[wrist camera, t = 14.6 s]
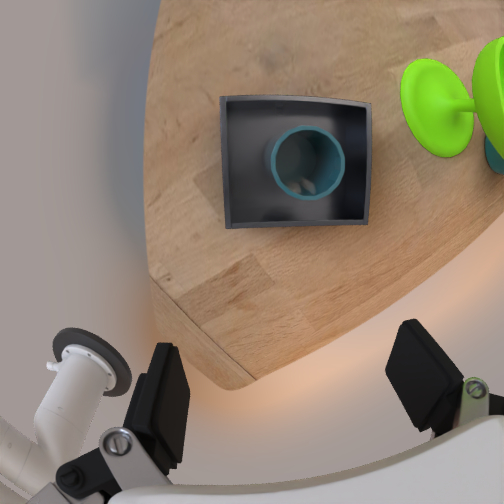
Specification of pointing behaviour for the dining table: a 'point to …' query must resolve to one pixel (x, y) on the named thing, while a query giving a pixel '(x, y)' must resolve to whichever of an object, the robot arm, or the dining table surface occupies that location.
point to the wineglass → (455, 102)
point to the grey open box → (264, 187)
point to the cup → (494, 158)
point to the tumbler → (305, 162)
